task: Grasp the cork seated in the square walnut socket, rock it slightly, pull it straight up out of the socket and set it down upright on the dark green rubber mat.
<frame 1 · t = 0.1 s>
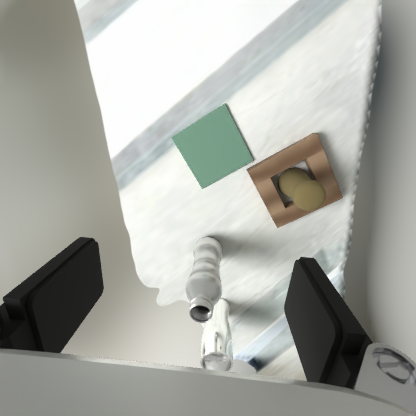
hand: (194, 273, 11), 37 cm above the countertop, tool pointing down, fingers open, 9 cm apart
plastic bottle: (208, 246, 53), on the countertop
cork: (292, 181, 46), resting in socket
socket: (292, 182, 46), on the countertop
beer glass: (218, 306, 59), on the countertop
mat: (212, 148, 45), on the countertop
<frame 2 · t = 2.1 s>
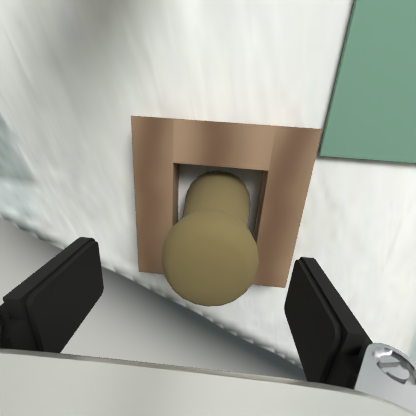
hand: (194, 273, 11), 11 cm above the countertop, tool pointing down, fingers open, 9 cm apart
cork: (217, 202, 21), resting in socket
socket: (217, 202, 21), on the countertop
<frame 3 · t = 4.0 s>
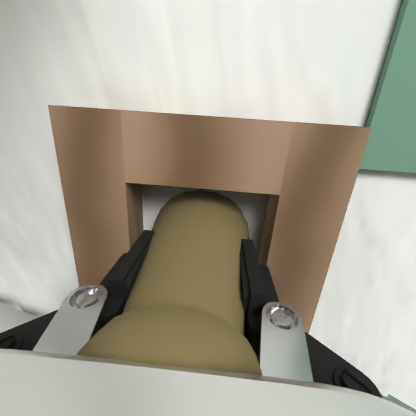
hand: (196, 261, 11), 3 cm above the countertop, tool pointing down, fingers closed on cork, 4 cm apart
cork: (201, 234, 14), resting in socket, touching gripper
socket: (201, 236, 14), on the countertop
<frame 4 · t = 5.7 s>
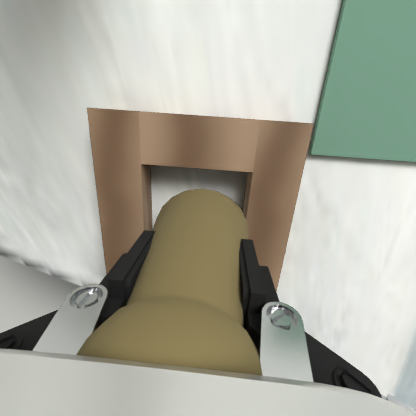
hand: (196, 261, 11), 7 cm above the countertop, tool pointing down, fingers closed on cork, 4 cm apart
cork: (201, 232, 15), point 4 cm above the countertop, touching gripper
socket: (196, 208, 18), on the countertop
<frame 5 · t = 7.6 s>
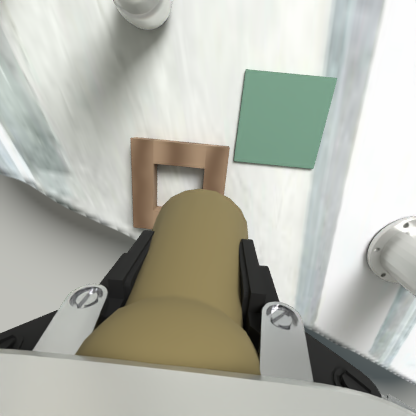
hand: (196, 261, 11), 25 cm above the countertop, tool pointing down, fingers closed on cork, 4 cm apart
plastic bottle: (149, 5, 28), on the countertop
cork: (201, 232, 15), point 21 cm above the countertop, touching gripper
socket: (180, 186, 36), on the countertop
mat: (281, 122, 32), on the countertop
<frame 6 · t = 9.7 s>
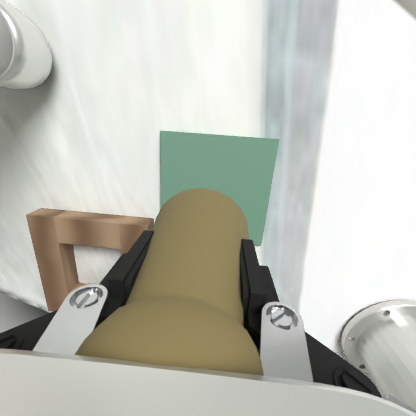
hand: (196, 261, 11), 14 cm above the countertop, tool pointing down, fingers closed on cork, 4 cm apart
plastic bottle: (30, 56, 22), on the countertop
cork: (201, 231, 14), point 11 cm above the countertop, touching gripper
socket: (102, 262, 29), on the countertop
mat: (214, 191, 25), on the countertop
when the fingers open (4 cm above the countertop, at t = 11.5 s): cork stays where it is, resting on mat.
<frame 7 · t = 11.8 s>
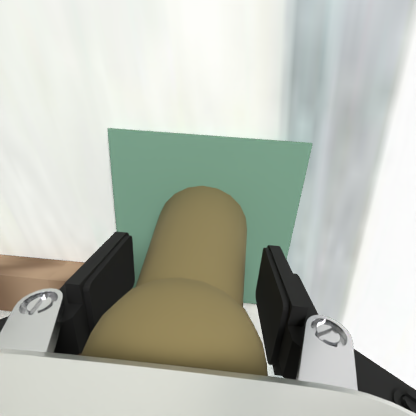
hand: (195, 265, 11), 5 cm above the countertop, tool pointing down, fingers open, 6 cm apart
cork: (202, 227, 15), resting on mat
socket: (39, 323, 20), on the countertop
mat: (203, 225, 15), on the countertop
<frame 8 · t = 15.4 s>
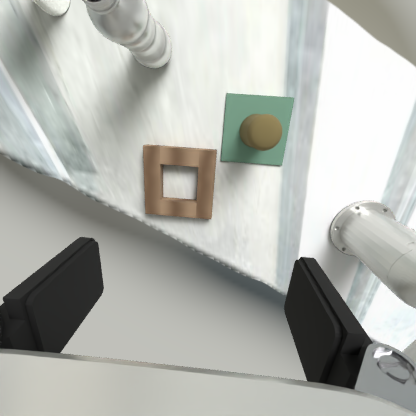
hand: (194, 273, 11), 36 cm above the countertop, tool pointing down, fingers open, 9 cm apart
plastic bottle: (155, 50, 39), on the countertop
cork: (255, 131, 42), resting on mat
socket: (180, 181, 46), on the countertop
mat: (255, 130, 42), on the countertop
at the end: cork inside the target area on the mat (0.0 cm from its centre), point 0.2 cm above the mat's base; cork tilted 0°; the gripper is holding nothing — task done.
